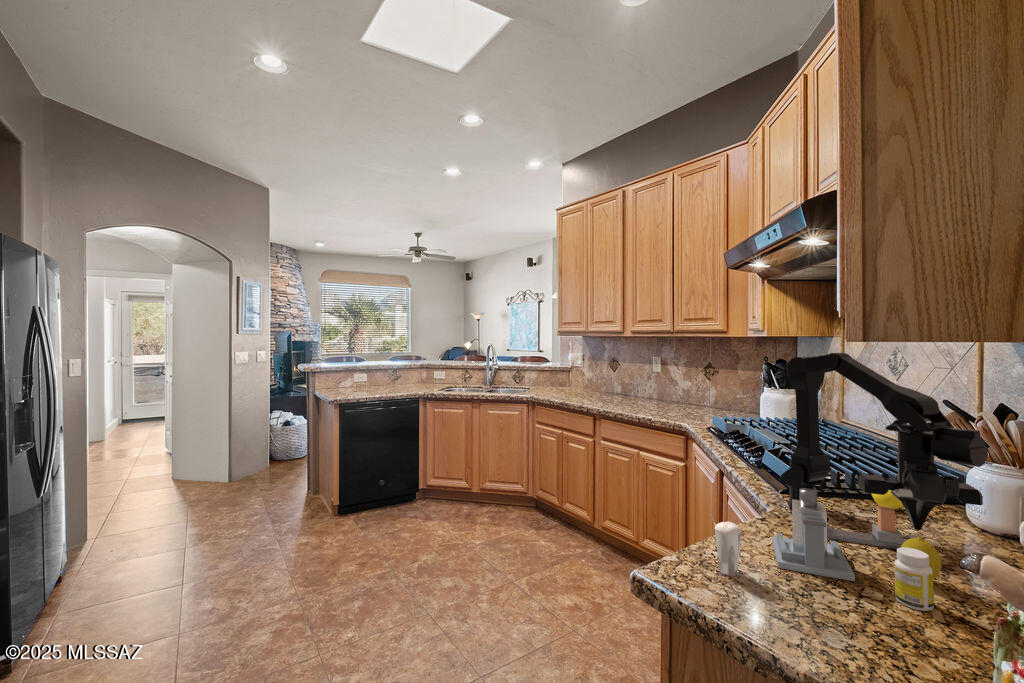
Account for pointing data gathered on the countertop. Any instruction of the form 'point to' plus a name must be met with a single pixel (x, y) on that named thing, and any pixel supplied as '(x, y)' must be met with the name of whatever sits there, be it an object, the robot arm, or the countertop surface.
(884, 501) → the lemon
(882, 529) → the lever
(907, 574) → the supplement bottle
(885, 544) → the rail
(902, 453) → the robot arm
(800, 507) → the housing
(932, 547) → the lemon
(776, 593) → the countertop surface
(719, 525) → the milkshake
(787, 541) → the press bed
